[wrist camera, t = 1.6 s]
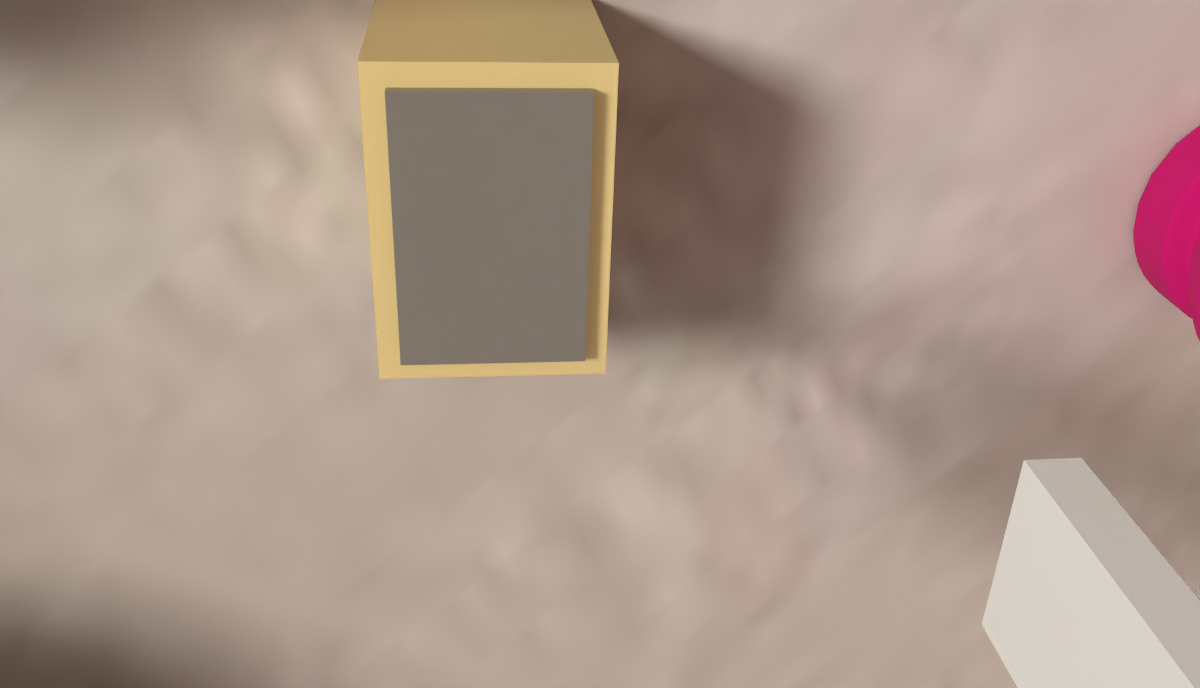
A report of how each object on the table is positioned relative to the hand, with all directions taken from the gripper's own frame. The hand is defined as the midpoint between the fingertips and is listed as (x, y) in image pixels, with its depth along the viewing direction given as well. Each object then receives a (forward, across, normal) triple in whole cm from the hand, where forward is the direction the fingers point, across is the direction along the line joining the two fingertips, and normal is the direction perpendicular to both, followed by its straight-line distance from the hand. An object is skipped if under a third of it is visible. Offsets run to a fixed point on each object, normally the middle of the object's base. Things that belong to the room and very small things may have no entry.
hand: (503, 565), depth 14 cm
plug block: (+17, 0, 0) cm, 17 cm away
